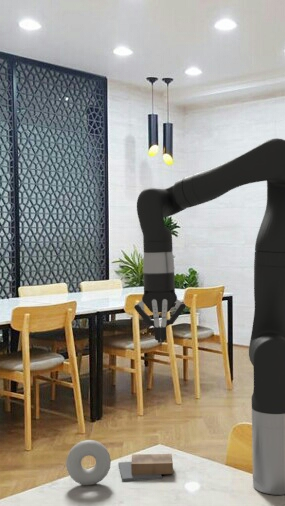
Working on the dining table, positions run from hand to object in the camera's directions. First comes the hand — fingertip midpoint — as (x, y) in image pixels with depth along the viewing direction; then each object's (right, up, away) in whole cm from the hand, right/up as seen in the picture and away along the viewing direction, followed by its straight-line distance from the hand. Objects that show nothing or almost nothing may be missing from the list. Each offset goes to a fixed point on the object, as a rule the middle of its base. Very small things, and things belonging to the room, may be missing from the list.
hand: (160, 342), depth 148 cm
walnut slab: (-7, -28, -5) cm, 29 cm away
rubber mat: (-5, -30, -5) cm, 31 cm away
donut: (-16, -30, -12) cm, 37 cm away
